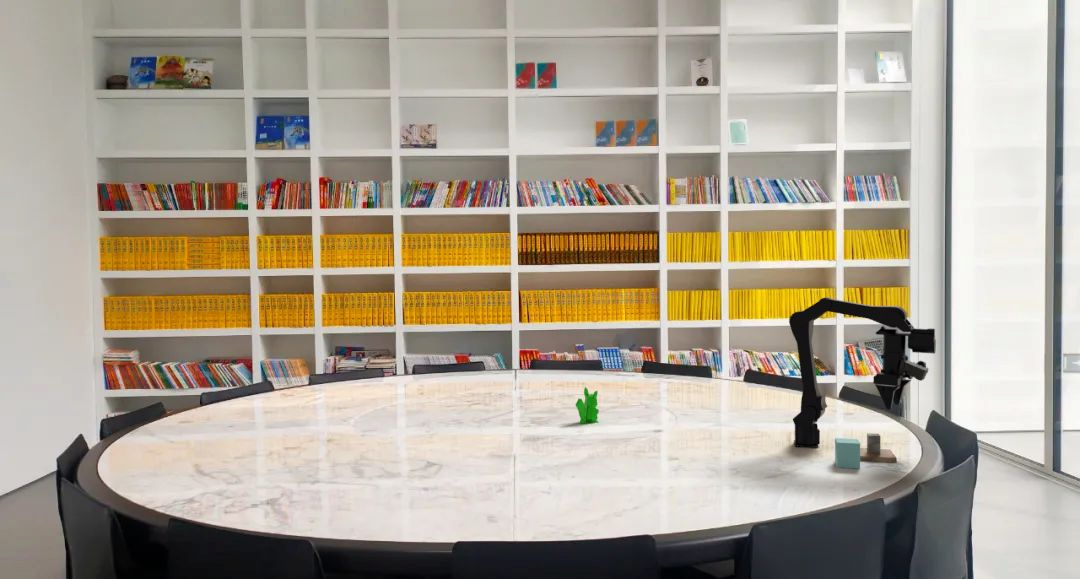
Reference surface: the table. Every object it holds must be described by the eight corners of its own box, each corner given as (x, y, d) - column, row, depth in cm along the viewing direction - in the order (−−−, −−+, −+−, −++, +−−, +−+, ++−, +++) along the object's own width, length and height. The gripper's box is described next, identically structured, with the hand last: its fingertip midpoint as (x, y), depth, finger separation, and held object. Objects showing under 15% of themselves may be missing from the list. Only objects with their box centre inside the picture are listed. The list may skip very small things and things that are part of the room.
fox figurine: (603, 422, 265) (603, 387, 265) (584, 426, 259) (584, 390, 258) (590, 419, 270) (590, 385, 269) (571, 423, 263) (571, 388, 263)
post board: (856, 460, 210) (856, 437, 210) (852, 451, 220) (852, 430, 219) (896, 462, 207) (896, 439, 207) (890, 453, 217) (890, 431, 217)
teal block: (837, 467, 203) (837, 442, 203) (835, 462, 208) (835, 438, 208) (860, 468, 202) (860, 443, 201) (857, 463, 207) (857, 439, 207)
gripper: (918, 356, 203) (916, 415, 204) (933, 350, 218) (931, 405, 219) (873, 353, 210) (872, 410, 211) (890, 347, 225) (889, 401, 226)
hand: (892, 406), depth 216 cm, fingers open, 9 cm apart
